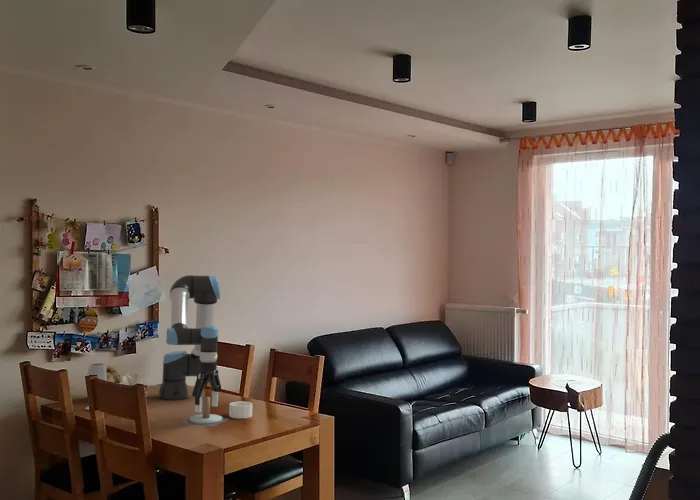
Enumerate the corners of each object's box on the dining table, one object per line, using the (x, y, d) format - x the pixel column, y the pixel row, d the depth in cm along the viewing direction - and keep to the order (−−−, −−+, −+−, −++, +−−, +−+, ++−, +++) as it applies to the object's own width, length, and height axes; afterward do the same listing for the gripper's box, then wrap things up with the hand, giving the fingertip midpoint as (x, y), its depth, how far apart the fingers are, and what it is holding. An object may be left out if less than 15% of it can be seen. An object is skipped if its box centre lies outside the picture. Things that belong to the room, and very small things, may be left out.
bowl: (236, 412, 309) (236, 400, 309) (256, 415, 306) (256, 402, 306) (224, 417, 299) (225, 404, 299) (245, 420, 296) (245, 407, 296)
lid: (201, 415, 300) (201, 393, 301) (227, 418, 296) (228, 396, 296) (183, 421, 287) (184, 398, 287) (211, 425, 282) (212, 401, 283)
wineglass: (81, 409, 305) (83, 364, 305) (95, 406, 313) (97, 362, 313) (96, 412, 301) (98, 366, 302) (109, 408, 309) (111, 363, 310)
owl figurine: (94, 396, 335) (96, 362, 336) (119, 395, 340) (121, 362, 340) (94, 403, 319) (96, 368, 319) (120, 402, 323) (122, 367, 323)
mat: (200, 415, 302) (200, 414, 302) (231, 419, 296) (231, 418, 296) (180, 423, 287) (180, 422, 287) (212, 427, 281) (212, 426, 281)
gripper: (200, 365, 279) (198, 415, 278) (230, 358, 302) (228, 404, 302) (184, 364, 281) (183, 413, 281) (215, 357, 305) (214, 402, 304)
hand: (206, 409), depth 291 cm, fingers open, 13 cm apart
